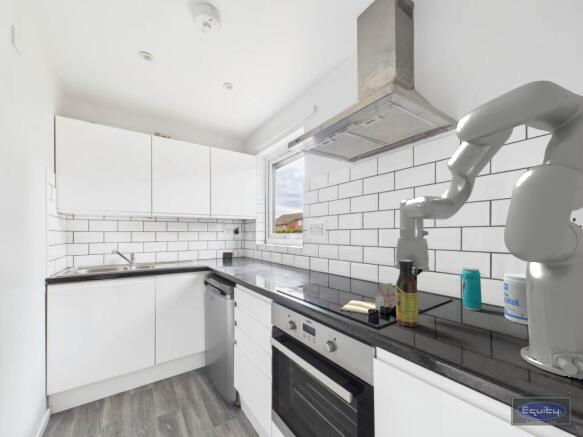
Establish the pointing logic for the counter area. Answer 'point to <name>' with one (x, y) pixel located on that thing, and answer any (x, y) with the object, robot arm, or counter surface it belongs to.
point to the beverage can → (471, 289)
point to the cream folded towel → (358, 307)
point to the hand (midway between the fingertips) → (412, 287)
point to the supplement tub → (515, 298)
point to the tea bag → (385, 296)
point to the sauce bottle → (406, 295)
